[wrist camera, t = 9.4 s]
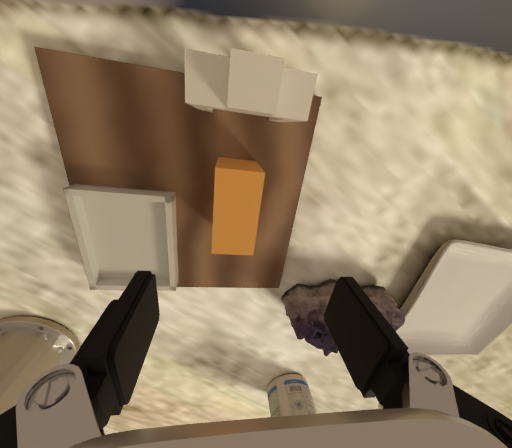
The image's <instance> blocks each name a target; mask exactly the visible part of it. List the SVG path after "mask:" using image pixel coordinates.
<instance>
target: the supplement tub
mask: <svg viewBox="0 0 512 448" xmlns="http://www.w3.org/2000/svg"><path fill="white" fill-rule="evenodd" d="M267 395H268V401H269V408H270V414H271V417H282V416H294V415H307V414H317V412H316V409H315V405H314V402H313V399H312V396H311V393H310V390H309V387H308V384H307V381H306V379H305V378H304V377H302V376H301V375H298V374H285V375H282V376H279V377H277V378H276V379H274V380H273V381H272V382H271V383H270V384H269V386H268V389H267Z"/></svg>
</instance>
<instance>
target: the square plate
mask: <svg viewBox="0 0 512 448" xmlns="http://www.w3.org/2000/svg"><path fill="white" fill-rule="evenodd" d="M400 311H401V312H402V313H403V315H404V316H405V322H404V324H403V326H401V327H400V328H399V329H398V330H396V333H397V334H398V335H399V337H400V338H401V339H402V340H403V342H404V343H405V344H406V345H407V347H408V350H407V351H408V352H409V354H411V353H415V352H417V353H422V354H424V355H435V356H455V355H478V354H480V353H481V352H482V351H483V350H484V349H485V348H486V347H487V346H488V345H490V344H491V343H492V342H493V341H494V340H495V339H496V338H497V337H498V336H499V335H501V334H502V333H503V332H504V331H505V330H506V329H507V328H508V327H509V326H510V325H511V324H512V249H507V248H501V247H496V246H491V245H486V244H482V243H477V242H472V241H466V240H459V239H452V240H449V241H447V242H445V243H444V244H443V245H442V246H441V247H440V248H439V249H438V250H437V252H436V253H435V254H434V256H433V257H432V259H431V260H430V262H429V264H428V265H427V267H426V268H425V270H424V272H423V273H422V275H421V277H420V278H419V280H418V281H417V283H416V285H415V286H414V288H413V290H412V291H411V293H410V294H409V296H408V298H407V299H406V301H405V302H404V304H403V305H402V307H401V308H400Z"/></svg>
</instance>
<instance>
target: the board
mask: <svg viewBox="0 0 512 448" xmlns="http://www.w3.org/2000/svg"><path fill="white" fill-rule="evenodd" d="M34 48H35V51H36V55H37V59H38V63H39V67H40V71H41V75H42V79H43V83H44V87H45V91H46V95H47V98H48V102H49V106H50V110H51V114H52V118H53V122H54V126H55V130H56V134H57V138H58V142H59V145H60V149H61V153H62V157H63V161H64V165H65V169H66V173H67V177H68V181H69V185H70V186H71V185H74V184H85V185H97V186H109V187H121V188H133V189H145V190H157V191H169V192H175V199H176V225H177V252H178V278H179V281H178V284H177V287H240V288H279V285H280V281H281V276H282V272H283V267H284V263H285V259H286V254H287V250H288V245H289V241H290V236H291V232H292V227H293V223H294V218H295V214H296V210H297V205H298V201H299V196H300V192H301V187H302V183H303V178H304V174H305V169H306V165H307V160H308V156H309V152H310V147H311V143H312V138H313V134H314V129H315V125H316V120H317V116H318V111H319V107H320V103H321V98H322V97H318V96H313V98H312V103H311V107H310V112H309V117H308V121H303V122H274V121H269V117H265V116H258V115H252V114H245V113H239V112H232V111H225V110H219V109H213V112H206V111H201V110H199V109H197V108H195V107H193V106H191V105H189V104H187V103H185V73H181V72H175V71H169V70H164V69H158V68H152V67H146V66H141V65H135V64H129V63H123V62H118V61H112V60H106V59H101V58H95V57H89V56H83V55H78V54H72V53H66V52H60V51H55V50H49V49H43V48H38V47H34ZM218 157H223V158H232V159H241V160H249V161H257V163H258V164H259V165H260V167H261V168H262V169H263V170H264V172H265V179H264V185H263V192H262V199H261V206H260V213H259V220H258V227H257V234H256V241H255V248H254V254H253V255H229V254H211V251H212V228H213V205H214V182H215V166H216V163H217V159H218Z"/></svg>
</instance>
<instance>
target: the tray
mask: <svg viewBox="0 0 512 448" xmlns="http://www.w3.org/2000/svg"><path fill="white" fill-rule="evenodd" d="M63 190H64V194H65V198H66V201H67V205H68V209H69V213H70V216H71V220H72V224H73V227H74V231H75V235H76V238H77V242H78V246H79V249H80V253H81V257H82V261H83V264H84V268H85V272H86V275H87V279H88V283H89V286H90V290H125V289H126V287H127V285H128V284H129V282H130V281H131V279H132V278H133V276H134V274H135V273H136V272H137V271H151V272H152V274H155V276H156V285H157V290H176V287H177V284H178V281H179V278H178V252H177V225H176V199H175V192H169V191H157V190H145V189H133V188H121V187H109V186H97V185H85V184H74V185H71V186H69V187H66V188H63Z"/></svg>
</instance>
